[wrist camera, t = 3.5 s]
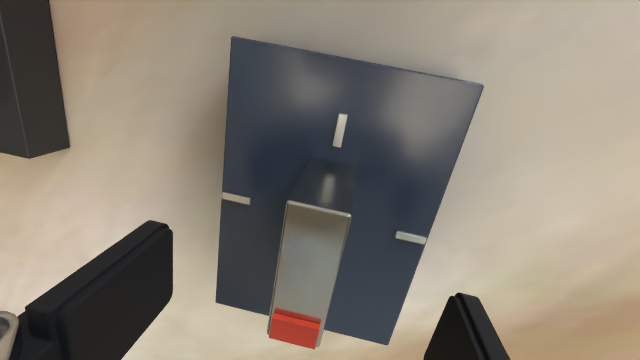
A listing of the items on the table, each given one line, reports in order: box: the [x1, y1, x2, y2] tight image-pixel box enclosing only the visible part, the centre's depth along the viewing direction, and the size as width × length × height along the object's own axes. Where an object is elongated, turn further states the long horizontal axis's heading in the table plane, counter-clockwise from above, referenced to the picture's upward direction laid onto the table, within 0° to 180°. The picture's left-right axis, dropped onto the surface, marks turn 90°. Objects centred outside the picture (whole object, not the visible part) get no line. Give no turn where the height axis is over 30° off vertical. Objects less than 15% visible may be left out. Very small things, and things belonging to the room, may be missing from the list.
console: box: [216, 36, 484, 345], centre depth 16 cm, size 14×10×3 cm
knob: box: [267, 158, 356, 349], centre depth 12 cm, size 6×2×5 cm, turn 170°
